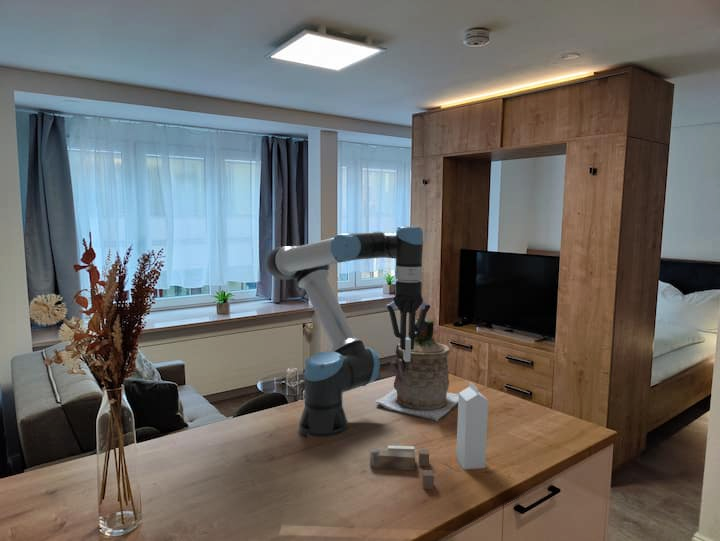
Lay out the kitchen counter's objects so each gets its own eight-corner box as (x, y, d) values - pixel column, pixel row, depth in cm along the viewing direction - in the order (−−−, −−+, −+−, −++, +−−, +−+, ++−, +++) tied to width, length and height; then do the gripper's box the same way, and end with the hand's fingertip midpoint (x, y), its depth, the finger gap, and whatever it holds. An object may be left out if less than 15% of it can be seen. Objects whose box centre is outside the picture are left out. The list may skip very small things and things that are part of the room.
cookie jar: (465, 399, 176) (468, 313, 173) (438, 424, 156) (441, 326, 152) (404, 386, 189) (406, 305, 186) (372, 407, 169) (374, 317, 165)
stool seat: (363, 494, 116) (363, 474, 115) (365, 462, 131) (365, 444, 130) (435, 497, 115) (435, 476, 114) (428, 464, 130) (429, 446, 129)
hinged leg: (369, 467, 125) (369, 453, 125) (370, 461, 128) (370, 448, 128) (414, 470, 124) (415, 456, 124) (414, 464, 127) (415, 450, 127)
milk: (476, 457, 134) (480, 380, 132) (485, 468, 129) (489, 388, 126) (455, 458, 134) (458, 381, 131) (463, 470, 128) (467, 389, 125)
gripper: (389, 282, 134) (387, 365, 137) (434, 282, 136) (432, 363, 139) (383, 278, 141) (382, 357, 144) (426, 278, 143) (424, 355, 146)
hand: (406, 360), depth 141 cm, fingers closed
